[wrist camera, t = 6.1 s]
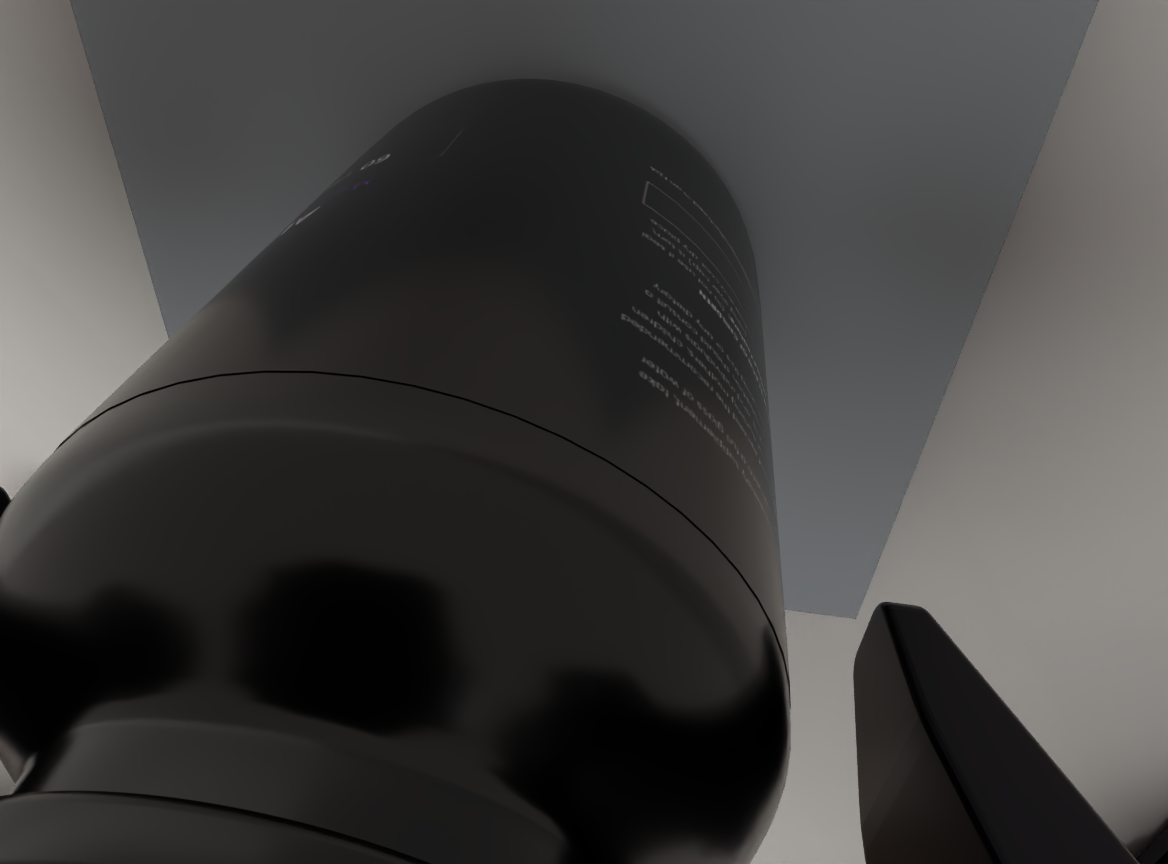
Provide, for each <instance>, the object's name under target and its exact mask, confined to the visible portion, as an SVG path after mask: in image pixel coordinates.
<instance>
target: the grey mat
mask: <svg viewBox="0 0 1168 864" xmlns="http://www.w3.org/2000/svg"><path fill="white" fill-rule="evenodd" d="M70 1H71V5H72V8H73V12H74V15H75V19H76V22H77V25H78V29H79V32H80V36H81V39H82V43H83V46H84V49H85V53H86V56H87V60H88V63H89V67H90V70H91V73H92V77H93V80H94V84H95V87H96V91H97V94H98V97H99V101H100V104H101V108H102V111H103V115H104V118H105V121H106V125H107V128H108V132H109V135H110V139H111V142H112V145H113V149H114V152H115V156H116V159H117V163H118V166H119V169H120V173H121V176H122V180H123V183H124V187H125V190H126V193H127V197H128V200H129V204H130V207H131V211H132V214H133V217H134V221H135V224H136V228H137V231H138V235H139V238H140V241H141V245H142V248H143V252H144V255H145V259H146V262H147V265H148V269H149V272H150V276H151V279H152V283H153V286H154V289H155V293H156V296H157V300H158V303H159V307H160V310H161V313H162V317H163V320H164V324H165V327H166V331H167V334H168V337H169V339H170V338H171V337H172V336H173V335H174V334H175V333H176V332H177V331H179V330H180V329H181V328H182V327H183V326H184V325H185V324H186V323H187V322H188V321H189V320H190V319H191V318H192V317H193V316H194V315H195V314H196V313H197V312H198V311H199V310H200V309H202V308H203V307H204V306H205V305H206V304H207V303H208V302H209V301H210V300H211V299H212V298H213V297H214V296H215V295H216V294H217V293H218V292H219V291H220V290H221V289H222V288H224V287H225V286H226V285H227V284H228V283H229V282H230V281H231V280H232V279H233V278H234V277H235V276H236V275H237V274H238V273H239V272H240V271H241V270H242V269H243V268H244V267H245V266H247V265H248V264H249V263H250V262H251V261H252V260H253V259H254V258H255V257H256V256H257V255H258V254H259V253H260V252H261V251H262V250H263V249H264V248H265V247H266V246H267V245H269V244H270V243H271V242H272V241H273V240H274V239H275V238H276V237H277V236H278V235H279V234H280V233H281V232H282V231H283V230H284V229H285V228H286V227H287V226H288V225H289V224H290V223H292V222H293V221H294V220H295V219H296V218H297V217H298V216H299V215H300V214H301V213H302V212H303V211H304V210H305V209H306V208H307V207H308V206H309V205H310V204H311V203H312V202H314V201H315V200H316V199H317V198H318V197H319V196H320V195H321V194H322V193H323V192H324V191H325V190H326V189H327V188H328V187H329V186H330V185H331V184H332V183H333V182H334V181H336V180H337V179H338V178H339V177H340V176H341V175H342V174H343V173H344V172H345V171H346V170H347V169H348V168H349V167H350V166H351V165H352V164H353V163H354V162H355V161H356V160H358V159H359V158H360V157H361V156H362V155H363V154H364V153H365V152H366V151H367V150H368V149H370V148H371V147H372V146H373V145H374V144H375V143H376V142H378V141H379V140H380V139H381V138H382V137H383V136H385V135H386V134H387V133H388V132H389V131H390V130H391V129H392V128H394V127H395V126H396V125H397V124H398V123H400V122H401V121H402V120H404V119H405V118H407V117H408V116H410V115H411V114H412V113H414V112H415V111H417V110H419V109H420V108H422V107H424V106H426V105H428V104H429V103H431V102H433V101H435V100H437V99H439V98H441V97H443V96H446V95H448V94H451V93H453V92H456V91H458V90H461V89H464V88H468V87H471V86H475V85H479V84H482V83H489V82H495V81H501V80H512V79H544V80H556V81H562V82H568V83H574V84H579V85H583V86H586V87H590V88H594V89H598V90H601V91H604V92H606V93H609V94H611V95H614V96H617V97H619V98H622V99H624V100H626V101H628V102H630V103H632V104H634V105H636V106H638V107H640V108H642V109H644V110H646V111H647V112H649V113H650V114H652V115H654V116H655V117H657V118H658V119H660V120H662V121H663V122H665V123H666V124H667V125H669V126H670V127H671V128H672V129H674V130H675V131H676V132H677V133H679V134H680V135H681V136H683V137H684V138H685V139H686V140H687V141H688V142H689V143H690V144H691V145H692V146H693V147H694V148H695V149H696V150H697V151H698V152H699V153H700V154H701V155H702V156H703V157H704V158H705V160H706V161H707V162H708V163H709V164H710V166H711V167H712V168H713V169H714V170H715V171H716V173H717V174H718V176H719V177H720V179H721V180H722V182H723V183H724V185H725V186H726V188H727V189H728V191H729V193H730V195H731V196H732V198H733V200H734V202H735V204H736V206H737V208H738V210H739V212H740V214H741V217H742V219H743V222H744V224H745V227H746V229H747V233H748V237H749V240H750V244H751V247H752V251H753V254H754V259H755V265H756V271H757V278H758V286H759V297H760V303H761V314H762V327H763V340H764V353H765V365H766V378H767V391H768V404H769V417H770V430H771V443H772V456H773V469H774V481H775V494H776V507H777V520H778V533H779V546H780V559H781V572H782V585H783V598H784V609H785V610H792V611H800V612H807V613H815V614H822V615H830V616H837V617H845V618H852V619H856V617H857V615H858V612H859V610H860V607H861V605H862V602H863V600H864V597H865V594H866V592H867V589H868V587H869V584H870V582H871V579H872V577H873V574H874V572H875V569H876V566H877V564H878V561H879V559H880V556H881V554H882V551H883V549H884V546H885V544H886V541H887V538H888V536H889V533H890V531H891V528H892V526H893V523H894V521H895V518H896V516H897V513H898V510H899V508H900V505H901V503H902V500H903V498H904V495H905V493H906V490H907V488H908V485H909V482H910V480H911V477H912V475H913V472H914V470H915V467H916V465H917V462H918V460H919V457H920V454H921V452H922V449H923V447H924V444H925V442H926V439H927V437H928V434H929V432H930V429H931V426H932V424H933V421H934V419H935V416H936V414H937V411H938V409H939V406H940V404H941V401H942V398H943V396H944V393H945V391H946V388H947V386H948V383H949V381H950V378H951V376H952V373H953V370H954V368H955V365H956V363H957V360H958V358H959V355H960V353H961V350H962V348H963V345H964V342H965V340H966V337H967V335H968V332H969V330H970V327H971V325H972V322H973V320H974V317H975V314H976V312H977V309H978V307H979V304H980V302H981V299H982V297H983V294H984V292H985V289H986V286H987V284H988V281H989V279H990V276H991V274H992V271H993V269H994V266H995V264H996V261H997V258H998V256H999V253H1000V251H1001V248H1002V246H1003V243H1004V241H1005V238H1006V236H1007V233H1008V230H1009V228H1010V225H1011V223H1012V220H1013V218H1014V215H1015V213H1016V210H1017V208H1018V205H1019V202H1020V200H1021V197H1022V195H1023V192H1024V190H1025V187H1026V185H1027V182H1028V180H1029V177H1030V174H1031V172H1032V169H1033V167H1034V164H1035V162H1036V159H1037V157H1038V154H1039V152H1040V149H1041V146H1042V144H1043V141H1044V139H1045V136H1046V134H1047V131H1048V129H1049V126H1050V124H1051V121H1052V118H1053V116H1054V113H1055V111H1056V108H1057V106H1058V103H1059V101H1060V98H1061V96H1062V93H1063V90H1064V88H1065V85H1066V83H1067V80H1068V78H1069V75H1070V73H1071V70H1072V68H1073V65H1074V62H1075V60H1076V57H1077V55H1078V52H1079V50H1080V47H1081V45H1082V42H1083V40H1084V37H1085V34H1086V32H1087V29H1088V27H1089V24H1090V22H1091V19H1092V17H1093V14H1094V12H1095V9H1096V6H1097V4H1098V1H1099V0H70Z"/></svg>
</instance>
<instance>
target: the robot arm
mask: <svg viewBox="0 0 1168 864" xmlns="http://www.w3.org/2000/svg"><path fill="white" fill-rule="evenodd" d="M10 502H11V500H10V498H9V496H8V494H7V493H6V491H5V490H4V489H3V488H2V487H0V518H1V516H2V514H3V513H4V511H5V509H6V507H7V506H8V504H9V503H10ZM853 679H854V701H855V722H856V744H857V765H858V787H859V806H860V821H861V832H862V839H863V847H864V854H865V861H866V864H1168V828H1167V829H1166V830H1165V831H1164V832H1163V833H1162V834H1161V835H1160V836H1159V837H1158V839H1157V840H1156V841H1155V842H1154V843H1153V844H1152V845H1151V846H1150V847H1149V848H1148V849H1147V850H1146V851H1145V852H1144V853H1143V854H1142V855H1141V856H1140V857H1139V858H1138V859H1137V860H1136V859H1135V858H1134V857H1133V855H1132V854H1131V853H1130V852H1129V851H1128V849H1127V848H1126V847H1125V846H1124V845H1123V843H1122V842H1121V841H1120V840H1119V839H1118V837H1117V836H1116V835H1115V834H1114V833H1113V831H1112V830H1111V829H1110V828H1109V827H1108V825H1107V824H1106V823H1105V822H1104V821H1103V820H1102V818H1101V817H1100V816H1099V815H1098V814H1097V812H1096V811H1095V810H1094V809H1093V808H1092V806H1091V805H1090V804H1089V803H1088V802H1087V800H1086V799H1085V798H1084V797H1083V796H1082V794H1081V793H1080V792H1079V791H1078V790H1077V789H1076V787H1075V786H1074V785H1073V784H1072V783H1071V781H1070V780H1069V779H1068V778H1067V777H1066V775H1065V774H1064V773H1063V772H1062V771H1061V769H1060V768H1059V767H1058V766H1057V765H1056V763H1055V762H1054V761H1053V760H1052V759H1051V758H1050V756H1049V755H1048V754H1047V753H1046V752H1045V750H1044V749H1043V748H1042V747H1041V746H1040V744H1039V743H1038V742H1037V741H1036V740H1035V738H1034V737H1033V736H1032V735H1031V734H1030V732H1029V731H1028V730H1027V729H1026V728H1025V726H1024V725H1023V724H1022V723H1021V722H1020V721H1019V719H1018V718H1017V717H1016V716H1015V715H1014V713H1013V712H1012V711H1011V710H1010V709H1009V707H1008V706H1007V705H1006V704H1005V703H1004V701H1003V700H1002V699H1001V698H1000V697H999V695H998V694H997V693H996V692H995V691H994V690H993V688H992V687H991V686H990V685H989V684H988V682H987V681H986V680H985V679H984V678H983V676H982V675H981V674H980V673H979V672H978V670H977V669H976V668H975V667H974V666H973V664H972V663H971V662H970V661H969V660H968V658H967V657H966V656H965V655H964V654H963V653H962V651H961V650H960V649H959V648H958V647H957V645H956V644H955V643H954V642H953V641H952V639H951V638H950V637H949V636H948V635H947V633H946V632H945V631H944V630H943V629H942V627H941V626H940V625H939V624H938V623H937V622H936V620H935V619H934V618H933V617H932V616H931V614H930V613H929V612H928V611H926V610H925V609H924V608H922V607H919V606H915V605H907V604H900V603H892V602H882V603H880V604H879V605H878V606H877V607H876V608H875V610H874V612H873V614H872V617H871V619H870V622H869V624H868V627H867V629H866V631H865V634H864V636H863V639H862V641H861V644H860V646H859V648H858V651H857V654H856V657H855V662H854V673H853Z"/></svg>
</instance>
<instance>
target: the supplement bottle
mask: <svg viewBox="0 0 1168 864" xmlns="http://www.w3.org/2000/svg"><path fill="white" fill-rule="evenodd" d="M790 707H791V704H790V681H789V665H788V650H787V637H786V624H785V611H784V598H783V585H782V572H781V559H780V546H779V533H778V520H777V507H776V494H775V481H774V469H773V456H772V443H771V430H770V417H769V404H768V391H767V378H766V365H765V353H764V340H763V327H762V314H761V303H760V297H759V286H758V278H757V271H756V265H755V259H754V254H753V251H752V247H751V244H750V240H749V237H748V233H747V229H746V227H745V224H744V222H743V219H742V217H741V214H740V212H739V210H738V208H737V206H736V204H735V202H734V200H733V198H732V196H731V195H730V193H729V191H728V189H727V188H726V186H725V185H724V183H723V182H722V180H721V179H720V177H719V176H718V174H717V173H716V171H715V170H714V169H713V168H712V167H711V166H710V164H709V163H708V162H707V161H706V160H705V158H704V157H703V156H702V155H701V154H700V153H699V152H698V151H697V150H696V149H695V148H694V147H693V146H692V145H691V144H690V143H689V142H688V141H687V140H686V139H685V138H684V137H683V136H681V135H680V134H679V133H677V132H676V131H675V130H674V129H672V128H671V127H670V126H669V125H667V124H666V123H665V122H663V121H662V120H660V119H658V118H657V117H655V116H654V115H652V114H650V113H649V112H647V111H646V110H644V109H642V108H640V107H638V106H636V105H634V104H632V103H630V102H628V101H626V100H624V99H622V98H619V97H617V96H614V95H611V94H609V93H606V92H604V91H601V90H598V89H594V88H590V87H586V86H583V85H579V84H574V83H568V82H562V81H556V80H544V79H512V80H501V81H495V82H489V83H482V84H479V85H475V86H471V87H468V88H464V89H461V90H458V91H456V92H453V93H451V94H448V95H446V96H443V97H441V98H439V99H437V100H435V101H433V102H431V103H429V104H428V105H426V106H424V107H422V108H420V109H419V110H417V111H415V112H414V113H412V114H411V115H410V116H408V117H407V118H405V119H404V120H402V121H401V122H400V123H398V124H397V125H396V126H395V127H394V128H392V129H391V130H390V131H389V132H388V133H387V134H386V135H385V136H383V137H382V138H381V139H380V140H379V141H378V142H376V143H375V144H374V145H373V146H372V147H371V148H370V149H368V150H367V151H366V152H365V153H364V154H363V155H362V156H361V157H360V158H359V159H358V160H356V161H355V162H354V163H353V164H352V165H351V166H350V167H349V168H348V169H347V170H346V171H345V172H344V173H343V174H342V175H341V176H340V177H339V178H338V179H337V180H336V181H334V182H333V183H332V184H331V185H330V186H329V187H328V188H327V189H326V190H325V191H324V192H323V193H322V194H321V195H320V196H319V197H318V198H317V199H316V200H315V201H314V202H312V203H311V204H310V205H309V206H308V207H307V208H306V209H305V210H304V211H303V212H302V213H301V214H300V215H299V216H298V217H297V218H296V219H295V220H294V221H293V222H292V223H290V224H289V225H288V226H287V227H286V228H285V229H284V230H283V231H282V232H281V233H280V234H279V235H278V236H277V237H276V238H275V239H274V240H273V241H272V242H271V243H270V244H269V245H267V246H266V247H265V248H264V249H263V250H262V251H261V252H260V253H259V254H258V255H257V256H256V257H255V258H254V259H253V260H252V261H251V262H250V263H249V264H248V265H247V266H245V267H244V268H243V269H242V270H241V271H240V272H239V273H238V274H237V275H236V276H235V277H234V278H233V279H232V280H231V281H230V282H229V283H228V284H227V285H226V286H225V287H224V288H222V289H221V290H220V291H219V292H218V293H217V294H216V295H215V296H214V297H213V298H212V299H211V300H210V301H209V302H208V303H207V304H206V305H205V306H204V307H203V308H202V309H200V310H199V311H198V312H197V313H196V314H195V315H194V316H193V317H192V318H191V319H190V320H189V321H188V322H187V323H186V324H185V325H184V326H183V327H182V328H181V329H180V330H179V331H177V332H176V333H175V334H174V335H173V336H172V337H171V338H170V339H169V340H168V341H167V342H166V343H165V344H164V345H163V346H162V347H161V348H160V349H159V350H158V351H157V352H155V353H154V354H153V355H152V356H151V357H150V358H149V359H148V360H147V361H146V362H145V363H144V364H143V365H142V366H141V367H140V368H139V369H138V370H137V371H136V372H135V373H134V374H132V375H131V376H130V377H129V378H128V379H127V380H126V381H125V382H124V383H123V384H122V385H121V386H120V387H119V388H118V389H117V390H116V391H115V392H114V393H113V394H112V395H111V396H110V397H108V398H107V399H106V400H105V401H104V402H103V403H102V404H101V405H100V406H99V407H98V408H97V409H96V410H95V411H94V412H93V413H92V414H91V415H90V416H89V417H88V418H87V419H86V420H84V421H83V422H82V423H81V424H80V425H79V426H78V427H77V428H76V429H75V430H74V431H73V432H72V433H71V434H70V435H69V436H68V437H67V438H66V439H65V440H64V441H63V442H62V443H61V444H60V445H59V446H58V448H57V449H56V450H55V451H54V453H53V454H52V455H51V456H50V457H49V458H48V459H47V460H46V461H45V462H44V463H43V464H42V465H41V466H40V467H39V468H38V469H37V471H36V472H35V473H34V474H33V475H32V476H31V477H30V479H29V480H28V481H27V482H26V483H25V484H24V485H23V487H22V488H21V489H20V490H19V492H18V493H17V494H16V495H15V497H14V498H13V499H12V500H11V502H10V503H9V504H8V506H7V507H6V509H5V511H4V513H3V514H2V516H1V518H0V760H1V761H2V763H3V765H4V767H5V768H6V770H7V771H8V773H9V775H10V776H11V778H12V779H13V781H14V783H15V785H14V786H13V788H12V789H11V790H10V792H9V793H8V794H7V795H5V796H0V864H750V862H751V861H752V859H753V857H754V856H755V854H756V852H757V850H758V849H759V847H760V845H761V843H762V841H763V839H764V838H765V836H766V834H767V832H768V830H769V828H770V825H771V823H772V821H773V819H774V816H775V813H776V811H777V808H778V805H779V802H780V799H781V796H782V793H783V790H784V787H785V782H786V777H787V772H788V765H789V758H790V750H791V723H790Z"/></svg>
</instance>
